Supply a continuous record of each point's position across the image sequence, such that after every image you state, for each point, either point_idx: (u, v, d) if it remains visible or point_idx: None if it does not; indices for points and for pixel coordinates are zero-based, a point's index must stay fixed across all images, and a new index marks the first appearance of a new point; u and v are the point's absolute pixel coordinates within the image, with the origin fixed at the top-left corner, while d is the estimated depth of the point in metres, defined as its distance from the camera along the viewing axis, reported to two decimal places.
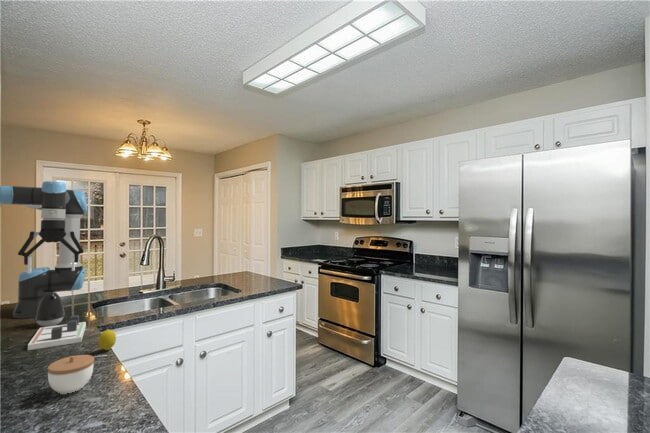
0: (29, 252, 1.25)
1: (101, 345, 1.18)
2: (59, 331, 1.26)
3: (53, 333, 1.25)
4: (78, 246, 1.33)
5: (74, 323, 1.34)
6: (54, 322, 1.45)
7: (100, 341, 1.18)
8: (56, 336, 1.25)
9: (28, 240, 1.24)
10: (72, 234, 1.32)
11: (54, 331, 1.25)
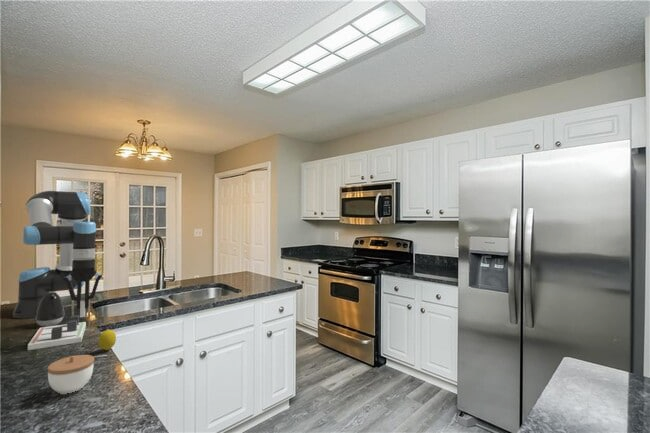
0: (79, 296, 1.29)
1: (101, 345, 1.18)
2: (59, 331, 1.26)
3: (53, 333, 1.25)
4: (94, 290, 1.32)
5: (74, 323, 1.34)
6: (54, 322, 1.45)
7: (100, 341, 1.18)
8: (56, 336, 1.25)
9: (68, 285, 1.27)
10: (99, 278, 1.33)
11: (54, 331, 1.25)
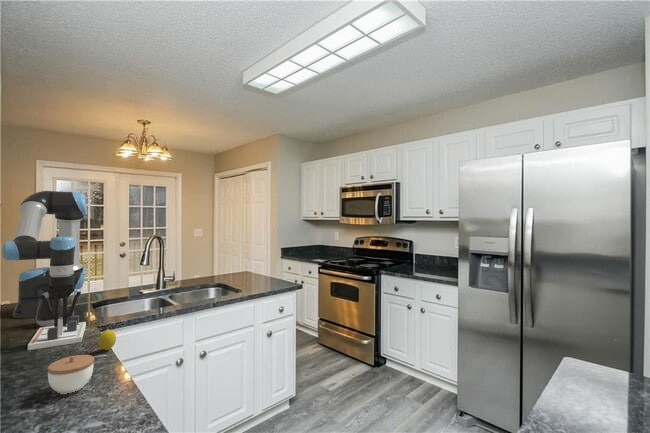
0: (56, 314, 1.25)
1: (101, 345, 1.18)
2: (55, 332, 1.25)
3: (49, 334, 1.24)
4: (72, 308, 1.28)
5: (74, 323, 1.34)
6: None
7: (100, 341, 1.18)
8: (52, 337, 1.24)
9: (45, 303, 1.24)
10: (78, 295, 1.29)
11: (50, 332, 1.24)
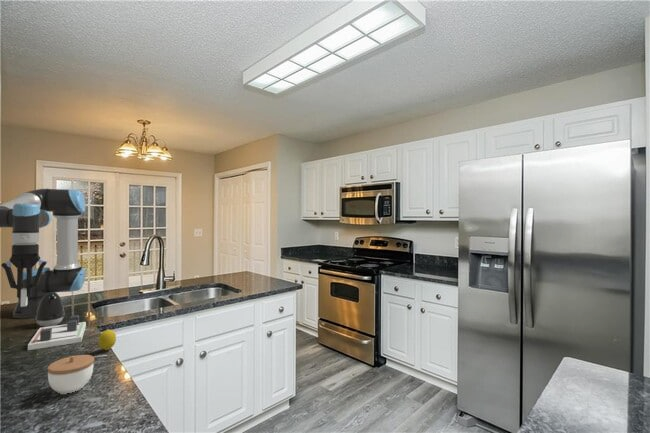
0: (19, 284, 1.19)
1: (101, 345, 1.18)
2: (48, 332, 1.24)
3: (42, 335, 1.23)
4: (37, 278, 1.22)
5: (74, 323, 1.34)
6: (54, 322, 1.45)
7: (100, 341, 1.18)
8: (45, 338, 1.23)
9: (7, 272, 1.18)
10: (43, 265, 1.23)
11: (43, 332, 1.23)
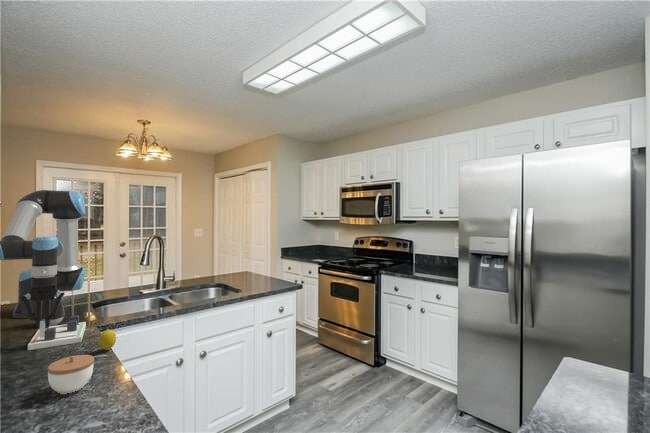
0: (38, 316, 1.22)
1: (101, 345, 1.18)
2: (52, 332, 1.24)
3: (46, 334, 1.23)
4: (55, 309, 1.25)
5: (74, 323, 1.34)
6: (54, 322, 1.45)
7: (100, 341, 1.18)
8: (49, 337, 1.24)
9: (27, 305, 1.21)
10: (61, 296, 1.26)
11: (47, 332, 1.24)
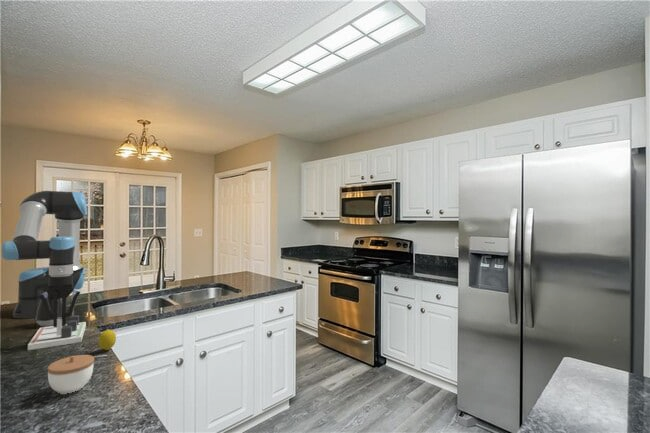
0: (55, 314, 1.25)
1: (101, 345, 1.18)
2: (69, 330, 1.27)
3: (63, 332, 1.26)
4: (71, 308, 1.28)
5: (74, 323, 1.34)
6: None
7: (100, 341, 1.18)
8: (66, 335, 1.27)
9: (44, 303, 1.23)
10: (77, 295, 1.29)
11: (64, 330, 1.26)
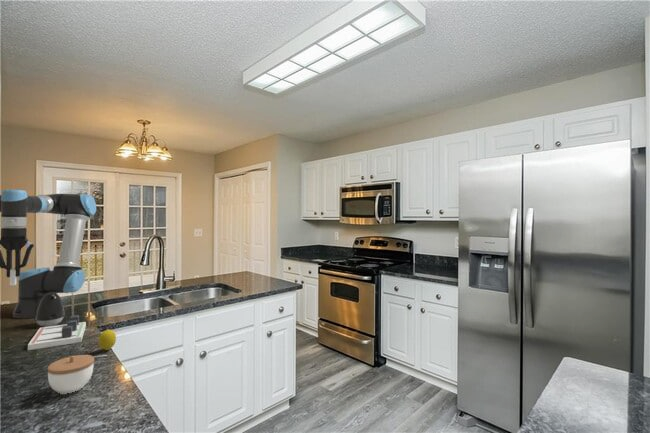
0: (8, 264, 1.28)
1: (101, 345, 1.18)
2: (69, 330, 1.27)
3: (63, 332, 1.26)
4: (25, 259, 1.31)
5: (74, 323, 1.34)
6: (54, 322, 1.45)
7: (100, 341, 1.18)
8: (66, 335, 1.27)
9: None
10: (31, 247, 1.32)
11: (64, 330, 1.26)
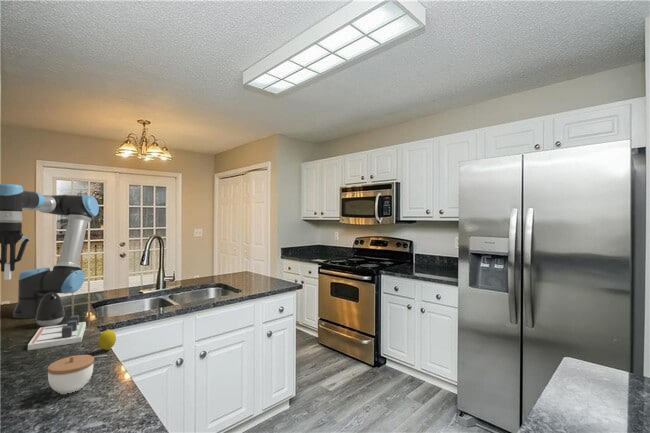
0: (3, 258, 1.29)
1: (101, 345, 1.18)
2: (69, 330, 1.27)
3: (63, 332, 1.26)
4: (19, 254, 1.31)
5: (74, 323, 1.34)
6: (54, 322, 1.45)
7: (100, 341, 1.18)
8: (66, 335, 1.27)
9: None
10: (25, 241, 1.32)
11: (64, 330, 1.26)
